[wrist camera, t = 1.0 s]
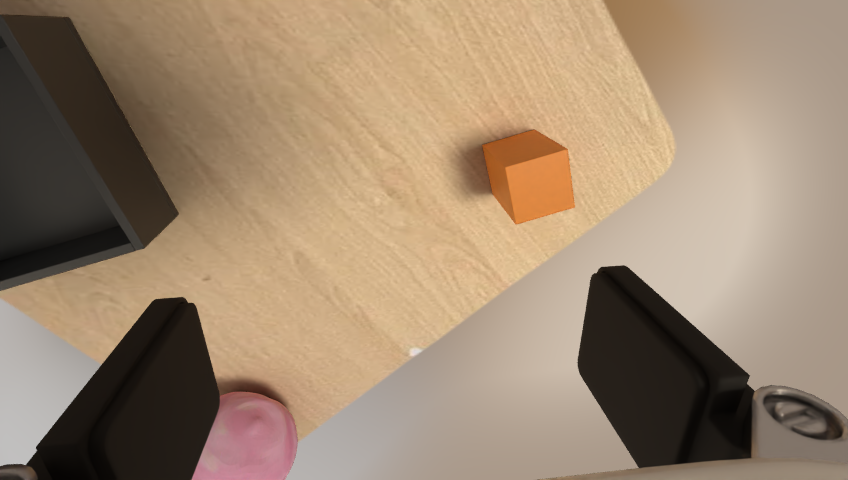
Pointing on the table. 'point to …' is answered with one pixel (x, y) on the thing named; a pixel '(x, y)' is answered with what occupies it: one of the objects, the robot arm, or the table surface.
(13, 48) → the bin
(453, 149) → the table surface
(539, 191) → the orange block
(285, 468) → the cupcake
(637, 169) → the table surface
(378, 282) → the table surface
